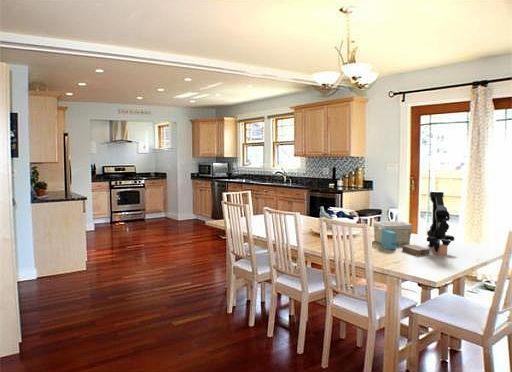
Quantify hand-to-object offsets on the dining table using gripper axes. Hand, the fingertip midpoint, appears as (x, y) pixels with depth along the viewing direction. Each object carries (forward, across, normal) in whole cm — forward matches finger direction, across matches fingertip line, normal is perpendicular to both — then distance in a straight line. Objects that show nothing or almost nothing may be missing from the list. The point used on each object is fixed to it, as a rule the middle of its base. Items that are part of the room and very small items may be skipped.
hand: (440, 251), depth 264 cm
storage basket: (+2, +6, -39) cm, 39 cm away
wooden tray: (+2, +13, -8) cm, 15 cm away
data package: (+2, +21, -25) cm, 33 cm away
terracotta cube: (+1, 0, 0) cm, 1 cm away
